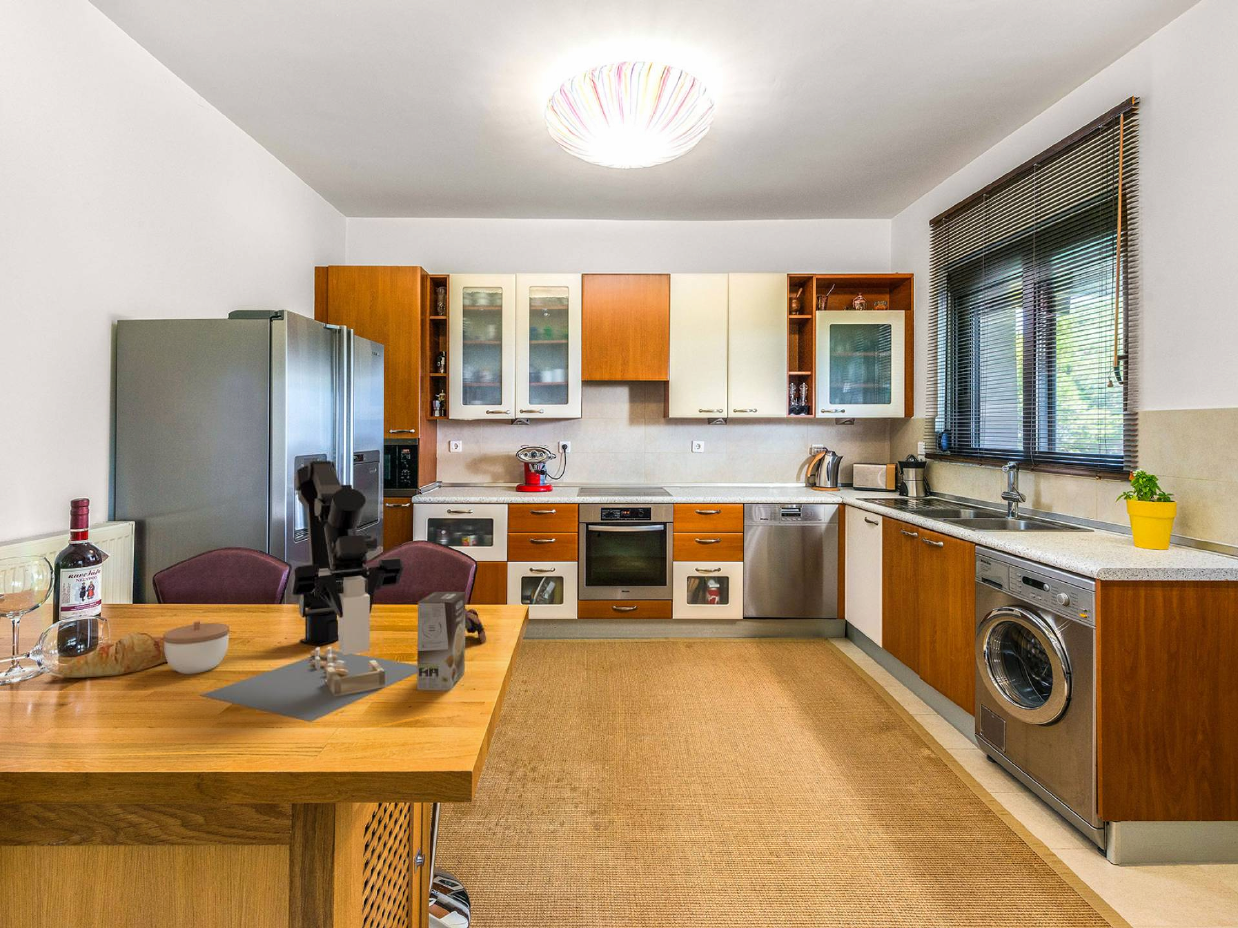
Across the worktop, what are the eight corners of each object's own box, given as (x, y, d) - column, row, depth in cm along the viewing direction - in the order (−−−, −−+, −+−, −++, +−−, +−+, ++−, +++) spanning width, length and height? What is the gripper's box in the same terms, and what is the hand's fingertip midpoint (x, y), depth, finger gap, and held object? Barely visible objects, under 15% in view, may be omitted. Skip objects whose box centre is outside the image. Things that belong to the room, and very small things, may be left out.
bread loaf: (61, 704, 117) (63, 670, 114) (51, 666, 123) (53, 633, 120) (196, 672, 133) (201, 641, 130) (182, 640, 139) (187, 611, 136)
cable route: (305, 656, 133) (305, 646, 133) (332, 652, 136) (332, 642, 136) (319, 680, 119) (319, 669, 119) (348, 675, 122) (348, 664, 122)
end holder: (325, 681, 119) (325, 666, 119) (373, 673, 123) (373, 658, 123) (334, 696, 112) (334, 680, 112) (385, 686, 116) (385, 671, 116)
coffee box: (451, 692, 115) (452, 602, 115) (416, 691, 115) (416, 601, 115) (465, 674, 124) (466, 591, 124) (432, 673, 125) (432, 590, 124)
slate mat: (199, 697, 112) (199, 695, 112) (330, 651, 137) (330, 649, 137) (310, 723, 101) (310, 721, 101) (429, 669, 127) (429, 666, 127)
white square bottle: (338, 648, 118) (338, 577, 118) (363, 644, 120) (364, 574, 120) (343, 654, 114) (343, 581, 114) (369, 650, 117) (369, 578, 116)
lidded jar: (208, 658, 133) (207, 612, 132) (241, 666, 128) (241, 618, 128) (150, 673, 123) (150, 624, 123) (184, 683, 118) (184, 632, 118)
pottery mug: (484, 650, 141) (464, 619, 139) (447, 666, 143) (427, 636, 141) (496, 622, 153) (478, 593, 151) (462, 637, 154) (444, 609, 153)
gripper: (293, 520, 115) (302, 595, 106) (401, 515, 125) (417, 583, 116) (287, 558, 122) (296, 631, 113) (390, 550, 132) (405, 617, 123)
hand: (355, 614), depth 116 cm, fingers closed on white square bottle, 4 cm apart
